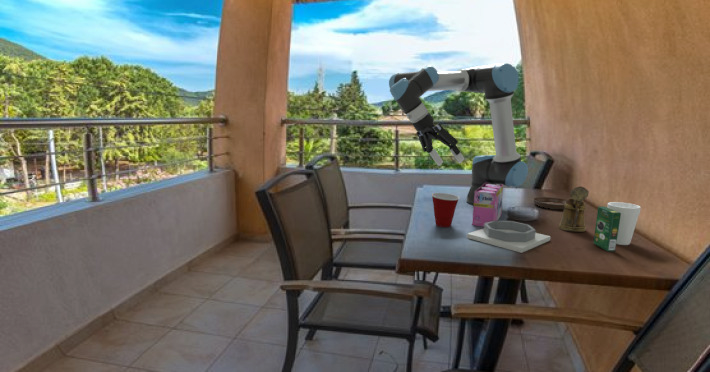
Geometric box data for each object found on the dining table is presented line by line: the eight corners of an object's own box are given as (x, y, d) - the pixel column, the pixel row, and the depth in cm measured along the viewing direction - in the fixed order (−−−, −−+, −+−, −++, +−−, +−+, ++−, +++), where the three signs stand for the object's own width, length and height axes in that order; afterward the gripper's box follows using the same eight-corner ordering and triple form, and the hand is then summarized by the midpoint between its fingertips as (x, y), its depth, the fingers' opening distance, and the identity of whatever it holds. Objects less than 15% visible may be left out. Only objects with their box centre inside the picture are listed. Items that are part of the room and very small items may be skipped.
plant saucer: (533, 201, 207) (533, 195, 206) (572, 205, 200) (573, 198, 199) (531, 208, 191) (532, 201, 191) (574, 212, 184) (575, 206, 183)
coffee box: (616, 252, 132) (622, 212, 129) (607, 252, 131) (613, 212, 129) (601, 244, 139) (605, 206, 137) (592, 244, 139) (597, 206, 137)
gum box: (483, 212, 182) (485, 181, 179) (502, 214, 178) (504, 183, 176) (471, 225, 161) (473, 190, 159) (492, 228, 157) (495, 193, 155)
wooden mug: (561, 234, 150) (566, 185, 147) (557, 224, 163) (562, 179, 160) (589, 237, 147) (595, 187, 144) (582, 227, 160) (588, 181, 156)
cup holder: (497, 227, 157) (498, 216, 157) (550, 240, 143) (551, 227, 142) (466, 237, 144) (467, 225, 144) (521, 252, 130) (522, 239, 129)
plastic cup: (458, 230, 154) (460, 198, 152) (429, 228, 156) (430, 197, 154) (457, 222, 164) (459, 192, 162) (430, 220, 166) (431, 191, 164)
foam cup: (596, 239, 144) (601, 203, 142) (614, 236, 148) (619, 201, 146) (623, 247, 136) (628, 209, 133) (641, 244, 139) (647, 207, 137)
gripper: (397, 128, 164) (427, 170, 168) (431, 117, 141) (464, 166, 145) (410, 117, 166) (439, 159, 171) (445, 104, 143) (478, 153, 148)
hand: (451, 162), depth 158 cm, fingers open, 13 cm apart
